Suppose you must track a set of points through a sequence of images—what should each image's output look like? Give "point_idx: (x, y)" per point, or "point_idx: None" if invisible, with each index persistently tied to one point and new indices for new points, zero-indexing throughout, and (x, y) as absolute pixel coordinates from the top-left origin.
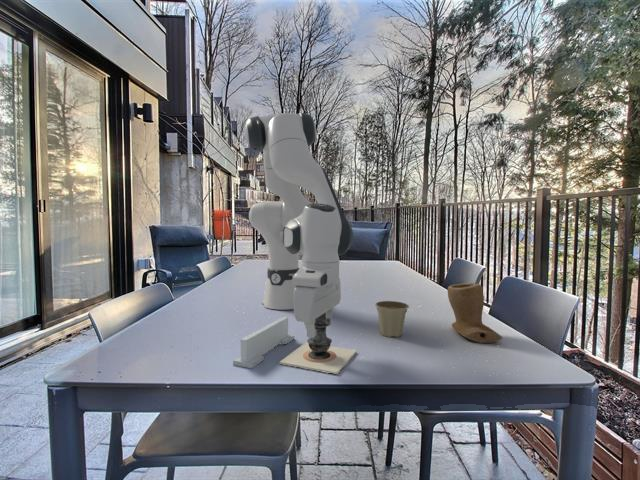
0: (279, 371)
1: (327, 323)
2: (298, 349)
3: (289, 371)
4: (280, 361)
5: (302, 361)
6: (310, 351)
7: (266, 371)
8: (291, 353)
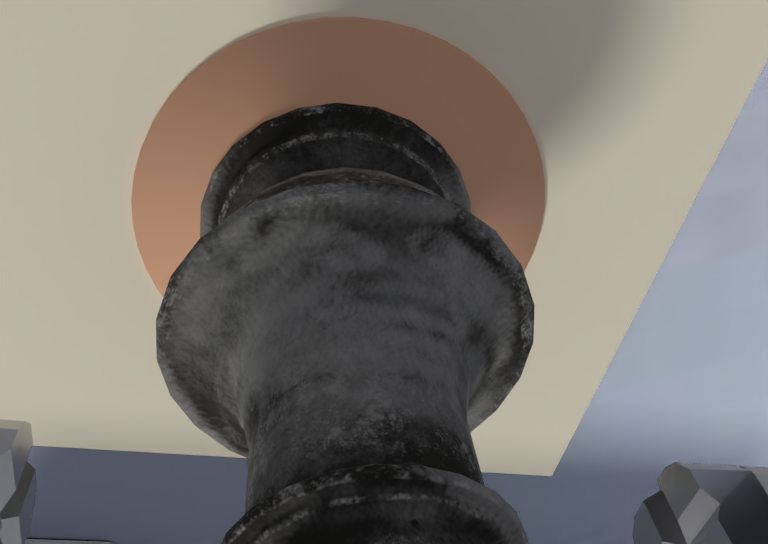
0: (675, 420)
1: (16, 483)
2: None
3: (678, 364)
4: (543, 472)
5: None
6: None
7: None
8: None
